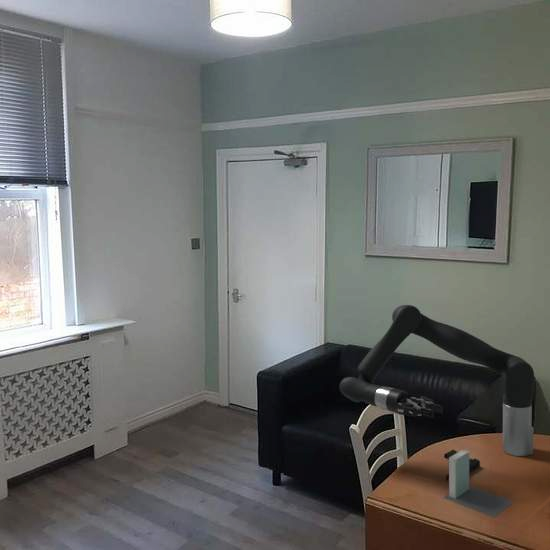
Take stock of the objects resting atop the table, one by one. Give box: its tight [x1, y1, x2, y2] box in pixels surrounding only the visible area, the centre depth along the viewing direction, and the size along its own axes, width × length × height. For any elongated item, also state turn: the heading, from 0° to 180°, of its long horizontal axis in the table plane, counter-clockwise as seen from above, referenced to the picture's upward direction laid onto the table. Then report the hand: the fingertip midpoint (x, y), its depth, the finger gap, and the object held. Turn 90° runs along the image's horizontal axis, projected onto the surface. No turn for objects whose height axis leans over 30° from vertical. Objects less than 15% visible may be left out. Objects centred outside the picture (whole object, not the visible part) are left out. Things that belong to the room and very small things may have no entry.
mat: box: [442, 485, 515, 518], centre depth 166 cm, size 16×12×1 cm
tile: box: [448, 449, 470, 498], centre depth 169 cm, size 2×8×12 cm, turn 132°
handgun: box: [443, 449, 481, 482], centre depth 187 cm, size 3×19×12 cm
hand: (437, 411), depth 173 cm, fingers open, 4 cm apart
